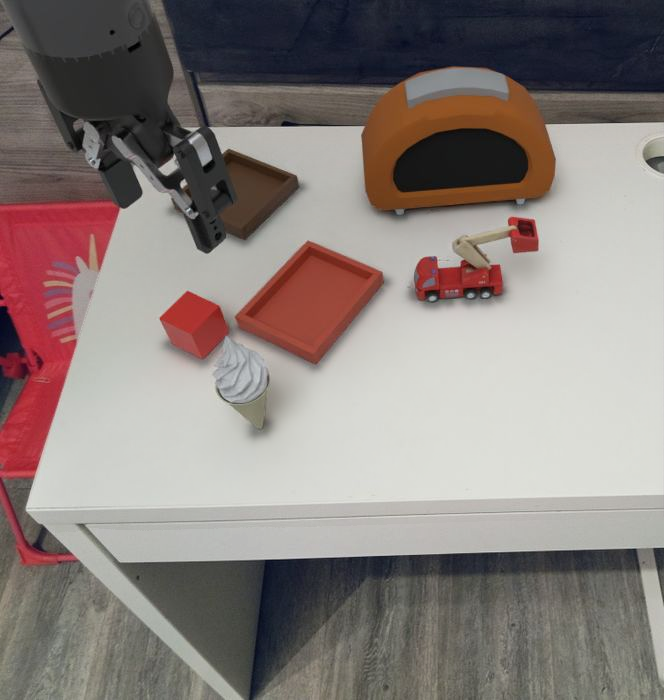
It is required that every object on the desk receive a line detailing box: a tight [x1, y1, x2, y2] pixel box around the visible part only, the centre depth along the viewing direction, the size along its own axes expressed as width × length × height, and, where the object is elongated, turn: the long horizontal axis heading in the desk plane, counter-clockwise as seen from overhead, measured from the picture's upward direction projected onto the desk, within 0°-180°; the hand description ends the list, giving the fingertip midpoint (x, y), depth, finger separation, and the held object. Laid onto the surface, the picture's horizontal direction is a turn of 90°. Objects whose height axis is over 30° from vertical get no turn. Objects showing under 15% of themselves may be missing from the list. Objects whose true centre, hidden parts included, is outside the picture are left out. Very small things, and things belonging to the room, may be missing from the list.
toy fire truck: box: [413, 216, 540, 303], centre depth 86 cm, size 3×14×10 cm, turn 95°
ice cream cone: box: [211, 335, 271, 430], centre depth 72 cm, size 5×5×15 cm
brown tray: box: [170, 148, 300, 241], centre depth 98 cm, size 11×11×2 cm
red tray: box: [234, 239, 385, 365], centre depth 88 cm, size 14×11×2 cm
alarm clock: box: [360, 66, 557, 216], centre depth 94 cm, size 23×9×17 cm, turn 97°
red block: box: [158, 290, 230, 360], centre depth 84 cm, size 4×4×4 cm
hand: (170, 222), depth 57 cm, fingers open, 8 cm apart
